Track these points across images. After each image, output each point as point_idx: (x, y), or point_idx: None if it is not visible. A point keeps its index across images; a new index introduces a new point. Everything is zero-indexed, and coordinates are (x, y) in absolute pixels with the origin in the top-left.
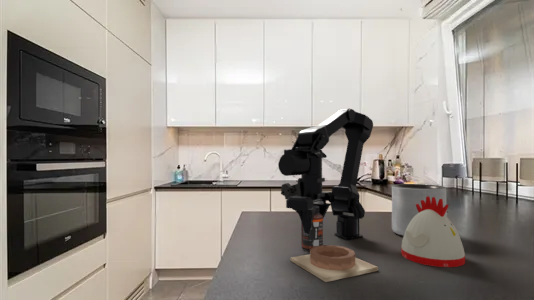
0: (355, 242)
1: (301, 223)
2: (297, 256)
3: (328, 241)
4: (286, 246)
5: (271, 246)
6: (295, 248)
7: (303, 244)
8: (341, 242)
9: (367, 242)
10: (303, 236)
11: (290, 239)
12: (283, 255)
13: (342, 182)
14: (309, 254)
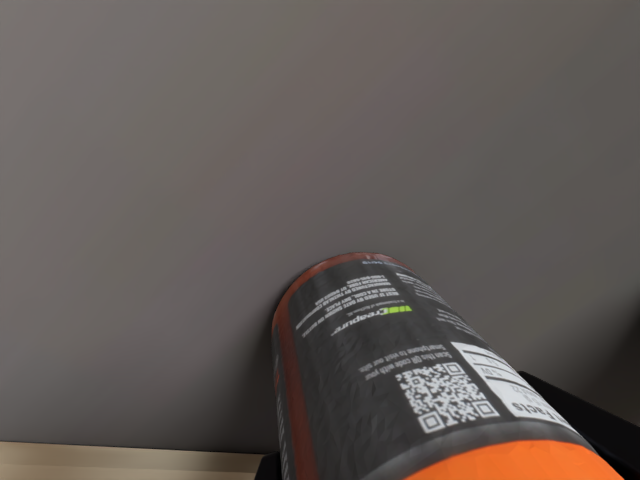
0: (604, 387)
1: (325, 463)
2: (48, 468)
3: (547, 287)
4: (208, 173)
5: (66, 61)
6: (232, 265)
7: (273, 332)
8: (567, 347)
9: (631, 416)
10: (278, 381)
11: (421, 13)
12: (20, 337)
13: None
14: (156, 471)
